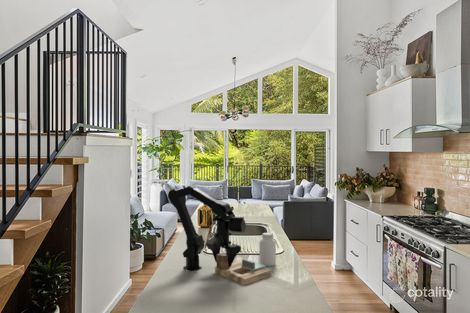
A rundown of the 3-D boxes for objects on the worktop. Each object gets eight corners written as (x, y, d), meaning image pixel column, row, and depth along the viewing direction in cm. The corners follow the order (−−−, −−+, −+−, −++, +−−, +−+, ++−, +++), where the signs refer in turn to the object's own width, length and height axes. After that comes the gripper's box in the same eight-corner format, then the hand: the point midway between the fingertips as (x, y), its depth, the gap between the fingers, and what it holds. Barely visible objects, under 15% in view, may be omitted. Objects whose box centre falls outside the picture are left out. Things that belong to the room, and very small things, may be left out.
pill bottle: (276, 262, 182) (276, 232, 182) (274, 267, 174) (274, 236, 174) (261, 260, 184) (261, 231, 184) (258, 265, 176) (257, 235, 176)
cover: (240, 266, 167) (240, 259, 167) (253, 262, 172) (253, 255, 172) (253, 270, 161) (253, 263, 161) (265, 266, 167) (265, 259, 166)
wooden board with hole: (214, 272, 167) (214, 267, 167) (240, 264, 178) (240, 260, 178) (244, 284, 152) (244, 278, 152) (270, 275, 163) (270, 270, 163)
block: (216, 267, 167) (216, 254, 167) (223, 265, 170) (223, 252, 170) (222, 269, 164) (222, 256, 164) (230, 267, 167) (229, 254, 167)
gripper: (196, 230, 168) (196, 263, 169) (222, 237, 154) (222, 273, 155) (215, 226, 176) (215, 258, 176) (241, 233, 162) (241, 267, 162)
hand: (223, 264), depth 167 cm, fingers open, 9 cm apart
